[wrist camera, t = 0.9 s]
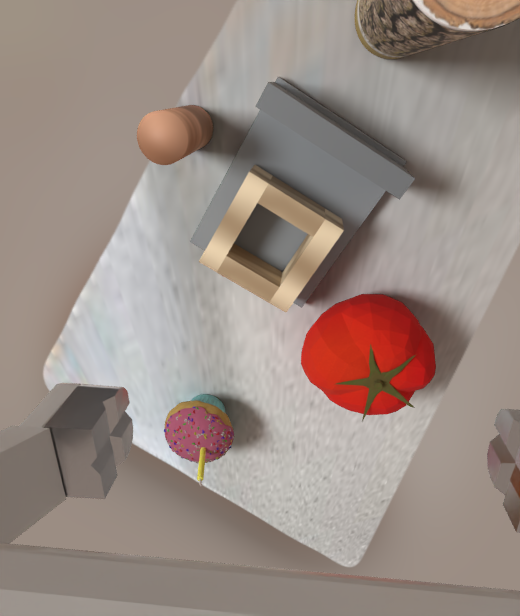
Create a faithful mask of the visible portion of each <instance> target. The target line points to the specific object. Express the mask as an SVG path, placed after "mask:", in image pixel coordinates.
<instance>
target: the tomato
mask: <svg viewBox="0 0 520 616" xmlns="http://www.w3.org/2000/svg"><path fill="white" fill-rule="evenodd" d="M301 365H302V367H303V370H304V372H305V374H306V375H307V377H308V379H309V380H310V382H311V383H313V384H314V385H315V386H317V387H318V388H319V389H321V390H322V391H323V392H324V393H325V394H326V396H327V397H328V398H329V399H330V400H331V401H333V402H334V403H336V404H337V405H339V406H341V407H343V408H345V409H347V410H350V411H354V412H358V413H362V414H364V415H363V419H364V417H365V415H379V414H389V413H393V412H396V411H398V410H399V409H401V408H403V407H404V406H406V404H407V405H409V406H410V407H413V406H412V405H411V404H410V403H409V400H410V398H411V397H412V395H413V394H414V392H415V390H419V389H422V388H424V387H425V386H426V385H427V384H428V383H429V382H430V381H431V380H432V378H433V377H434V375H435V368H436V364H435V355H434V346H433V343H432V341H431V340H430V338H429V337H428V335H427V334H426V332H425V330H424V329H423V327H422V326H421V325H420V324H419V321H418V320H417V319H416V318H415V316H414V315H413V314H412V313H411V312H410V310H409V309H408V308H407V307H406V306H405V305H404V304H403V303H402V302H400V301H398V300H395V299H393V298H390V297H388V296H386V295H383V294H361V295H358V296H356V297H353V298H350V299H348V300H345V301H342V302H339V303H337V304H335V305H333V306H332V307H331V308H329V309H328V310H327V311H326V312H324V313H323V314H322V315H321V316H320V317H319V318H318V320H317V321H316V322H315V323H314V324H313V326H312V327H311V328H310V330H309V331H308V333H307V334H306V338H305V341H304V345H303V348H302V354H301ZM414 408H415V407H414ZM362 421H363V420H362Z"/></svg>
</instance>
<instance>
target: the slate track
mask: <svg viewBox="0 0 520 616" xmlns="http://www.w3.org/2000/svg"><path fill="white" fill-rule="evenodd" d="M256 107H257V108H259V109H260V111H259V113H258V115H257V117H256V119H255V121H254V123H253V124H252V126H251V128H250V130H249V132H248V134H247V136H246V137H245V139H244V141H243V143H242V145H241V147H240V149H239V151H238V152H237V154H236V156H235V158H234V160H233V162H232V164H231V166H230V167H229V169H228V171H227V173H226V175H225V177H224V179H223V180H222V182H221V184H220V186H219V188H218V190H217V192H216V194H215V195H214V197H213V199H212V201H211V203H210V205H209V207H208V209H207V210H206V212H205V214H204V216H203V218H202V220H201V222H200V223H199V225H198V227H197V229H196V231H195V233H194V235H193V237H192V238H191V240H190V242H191V243H193V244H194V245H196V246H198V247H200V248H201V249H203V250H206V248H207V246H208V244H209V243H210V241H211V239H212V237H213V235H214V234H215V232H216V230H217V228H218V227H219V225H220V223H221V221H222V219H223V218H224V216H225V214H226V212H227V210H228V209H229V207H230V205H231V203H232V201H233V200H234V198H235V196H236V194H237V193H238V191H239V189H240V187H241V185H242V184H243V182H244V180H245V178H246V176H247V175H248V173H249V171H250V170H251V169H252V167H253V166H254V165H257V166H258V167H260V168H261V169H263V170H265V171H266V172H268V173H269V174H271V175H273V176H274V177H276V178H277V179H279V180H281V181H282V182H284V183H285V184H287V185H289V186H290V187H292V188H293V189H295V190H297V191H298V192H300V193H301V194H303V195H305V196H306V197H308V198H309V199H311V200H313V201H314V202H316V203H317V204H319V205H321V206H322V207H324V208H325V209H327V210H329V211H330V212H332V213H333V214H335V215H336V216H338V217H340V218H341V219H342V222H343V228H344V231H343V233H342V234H341V235H340V237H339V238H338V240H337V241H336V243H335V244H334V245H333V247H332V248H331V250H330V251H329V253H328V254H327V255H326V257H325V258H324V260H323V261H322V262H321V264H320V265H319V267H318V268H317V270H316V271H315V272H314V274H313V275H312V277H311V278H310V279H309V281H308V282H307V284H306V285H305V287H304V288H303V289H302V291H301V292H300V294H299V295H298V296H297V298H296V299H295V301H294V302H293V303H295V304H297V305H298V306H300V307H303V305H304V304H305V302H306V301H307V300H308V298H309V297H310V295H311V294H312V293H313V291H314V290H315V289H316V287H317V286H318V284H319V283H320V282H321V280H322V279H323V277H324V276H325V275H326V273H327V272H328V270H329V269H330V268H331V266H332V265H333V264H334V262H335V261H336V259H337V258H338V257H339V255H340V254H341V252H342V251H343V250H344V248H345V247H346V245H347V244H348V243H349V241H350V240H351V239H352V237H353V236H354V234H355V233H356V232H357V230H358V229H359V227H360V226H361V225H362V223H363V222H364V220H365V219H366V218H367V216H368V215H369V214H370V212H371V211H372V209H373V208H374V207H375V205H376V204H377V202H378V201H379V200H380V198H381V197H382V196H383V194H384V193H385V191H387V192H389V193H390V194H392V195H393V196H395V197H396V198H398V199H400V198H401V197H402V196H403V194H404V193H405V192H406V190H407V189H408V188H409V186H410V185H411V184H412V182H413V181H414V180H415V178H414V177H413V176H412V175H411V174H410V173H409V172H408V171H407V170H406V169H405V168H404V167H403V166H404V165H405V164H406V161H405V160H404V159H402V158H401V157H399V156H398V155H396V154H395V153H393V152H392V151H390V150H389V149H387V148H386V147H384V146H383V145H381V144H380V143H378V142H377V141H375V140H374V139H372V138H371V137H369V136H368V135H366V134H365V133H363V132H362V131H360V130H359V129H357V128H356V127H354V126H353V125H351V124H349V123H348V122H346V121H345V120H343V119H342V118H340V117H339V116H337V115H336V114H334V113H333V112H331V111H330V110H328V109H327V108H325V107H324V106H322V105H321V104H319V103H318V102H316V101H315V100H313V99H312V98H310V97H309V96H307V95H306V94H304V93H303V92H301V91H300V90H298V89H297V88H295V87H294V86H292V85H290V84H289V83H287V82H286V81H284V80H283V79H281V78H280V77H278V78H277V80H276V81H275V82H268V84H267V86H266V87H265V89H264V91H263V93H262V95H261V97H260V99H259V101H258V103H257V104H256ZM307 235H308V234H307V233H306V232H304V231H302V230H301V229H299V228H297V227H296V226H294V225H293V224H291V223H289V222H288V221H286V220H284V219H283V218H281V217H280V216H278V215H276V214H275V213H273V212H271V211H270V210H268V209H267V208H265V207H263V206H262V205H260V204H258V203H257V204H256V206H255V208H254V209H253V211H252V213H251V215H250V216H249V218H248V220H247V221H246V223H245V225H244V227H243V228H242V230H241V232H240V233H239V235H238V237H237V238H236V240H235V242H234V244H236V245H238V246H239V247H241V248H243V249H244V250H246V251H248V252H249V253H251V254H253V255H254V256H256V257H258V258H259V259H261V260H263V261H264V262H266V263H268V264H269V265H271V266H273V267H275V268H276V269H278V270H280V271H281V272H283V271H284V269H285V268H286V266H287V265H288V263H289V262H290V260H291V259H292V257H293V256H294V254H295V253H296V251H297V250H298V248H299V247H300V245H301V244H302V242H303V241H304V239H305V238H306V236H307Z"/></svg>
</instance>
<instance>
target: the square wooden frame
mask: <svg viewBox="0 0 520 616" xmlns="http://www.w3.org/2000/svg"><path fill="white" fill-rule="evenodd" d="M257 203H258V204H260V205H262V206H263V207H265V208H267V209H268V210H270V211H271V212H273V213H275V214H276V215H278V216H280V217H281V218H283V219H284V220H286V221H288V222H289V223H291V224H293V225H294V226H296V227H297V228H299V229H301V230H302V231H304V232H306V233H307V234H308V235H307V236H306V238H305V239H304V241H303V242H302V244H301V245H300V247H299V248H298V250H297V251H296V253H295V254H294V256H293V257H292V259H291V260H290V262H289V263H288V265H287V266H286V268H285V269H284V271H283V272H281V271H280V270H278V269H276V268H275V267H273V266H271V265H269V264H268V263H266V262H264V261H263V260H261V259H259V258H258V257H256V256H254V255H253V254H251V253H249V252H248V251H246V250H244V249H243V248H241V247H239V246H238V245H236V244H234V242H235V240H236V238H237V237H238V235H239V233H240V232H241V230H242V228H243V227H244V225H245V223H246V221H247V220H248V218H249V216H250V215H251V213H252V211H253V209H254V208H255V206H256V204H257ZM343 231H344V228H343V222H342V219H341V218H340V217H338V216H336V215H335V214H333V213H332V212H330V211H329V210H327V209H325V208H324V207H322V206H321V205H319V204H317V203H316V202H314V201H313V200H311V199H309V198H308V197H306V196H305V195H303V194H301V193H300V192H298V191H297V190H295V189H293V188H292V187H290V186H289V185H287V184H285V183H284V182H282V181H281V180H279V179H277V178H276V177H274V176H273V175H271V174H269V173H268V172H266V171H265V170H263V169H261V168H260V167H258V166H257V165H254V166H253V167H252V169H251V170H250V171H249V173H248V175H247V176H246V178H245V180H244V182H243V184H242V185H241V187H240V189H239V191H238V193H237V194H236V196H235V198H234V200H233V201H232V203H231V205H230V207H229V209H228V210H227V212H226V214H225V216H224V218H223V219H222V221H221V223H220V225H219V227H218V228H217V230H216V232H215V234H214V235H213V237H212V239H211V241H210V243H209V244H208V246H207V248H206V250H205V252H204V253H203V255H202V257H201V259H200V261H199V262H200V263H202V264H204V265H205V266H207V267H209V268H210V269H212V270H214V271H216V272H217V273H219V274H221V275H222V276H224V277H226V278H228V279H229V280H231V281H233V282H234V283H236V284H238V285H240V286H241V287H243V288H245V289H246V290H248V291H250V292H252V293H253V294H255V295H257V296H258V297H260V298H262V299H264V300H265V301H267V302H269V303H270V304H272V305H274V306H276V307H277V308H279V309H281V310H282V311H284V312H287V311H288V309H289V308H290V306H291V305H292V304H293V302H294V301H295V299H296V298H297V296H298V295H299V294H300V292H301V291H302V289H303V288H304V287H305V285H306V284H307V282H308V281H309V279H310V278H311V277H312V275H313V274H314V272H315V271H316V270H317V268H318V267H319V265H320V264H321V262H322V261H323V260H324V258H325V257H326V255H327V254H328V253H329V251H330V250H331V248H332V247H333V245H334V244H335V243H336V241H337V240H338V238H339V237H340V235H341V234H342V233H343Z"/></svg>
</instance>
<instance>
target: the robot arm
mask: <svg viewBox="0 0 520 616" xmlns="http://www.w3.org/2000/svg"><path fill="white" fill-rule="evenodd" d="M128 405H129V398H128V393H127V390H126V389H125V388H124V387H115V386H102V385H89V384H75V383H60V384H57V385H56V386H55V387H54V388H53V389H52V390H51V391H50V392H49V393H48V394H47V395H46V397H45V398H44V399H43V400H42V401H41V402H40V403H39V404H38V405H37V406H36V408H35V409H34V410H33V411H32V412H31V413H30V414H29V415H28V416H27V418H26V419H25V420H24V421H23V422H22V423H21V424H20V425H19V426H10V427H8V428H6V429H4V430H1V431H0V616H520V591H516V590H506V589H495V588H485V587H474V586H463V585H453V584H442V583H431V582H421V581H410V580H399V579H388V578H378V577H368V576H357V575H345V574H335V573H323V572H313V571H301V570H290V569H279V568H269V567H258V566H246V565H235V564H225V563H213V562H203V561H192V560H181V559H169V558H159V557H149V556H138V555H127V554H116V553H105V552H94V551H83V550H73V549H72V550H71V549H62V548H50V547H40V546H29V545H18V544H9V543H11V542H12V541H13V540H15V539H16V538H17V537H18V536H20V535H21V534H22V533H23V532H25V531H26V530H27V529H29V528H30V527H31V526H32V525H34V524H35V523H36V522H37V521H39V520H40V519H41V518H43V517H44V516H45V515H46V514H48V513H49V512H50V511H52V510H53V509H54V508H55V507H57V506H58V505H59V504H61V503H62V502H63V501H64V500H66V497H77V498H97V499H105V498H106V496H107V494H108V492H109V490H110V488H111V486H112V484H113V483H114V481H115V479H116V477H117V471H116V466H117V465H119V464H121V463H122V462H123V461H125V460H126V458H127V456H128V453H129V451H130V447H131V444H132V439H133V424H132V419H131V418H130V417H129V415H128V414H127V413H126V412H125V410H126V408H127V406H128ZM494 425H495V427H496V429H497V430H498V432H499V435H498V436H496V437H495V438H494V439H493V440H492V441H490V445H489V449H488V454H487V459H488V470H489V474H490V478H491V480H492V482H493V484H494V487H495V488H496V489H498V490H499V491H500V492H502V493H503V494H504V495H505V499H504V502H503V506H504V508H505V510H506V512H507V514H508V516H509V518H510V520H511V522H512V524H513V526H514V529H515V531H516V532H520V410H512V409H501V410H500V411H499V413H498V414H497V417H496V420H495V424H494Z"/></svg>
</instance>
